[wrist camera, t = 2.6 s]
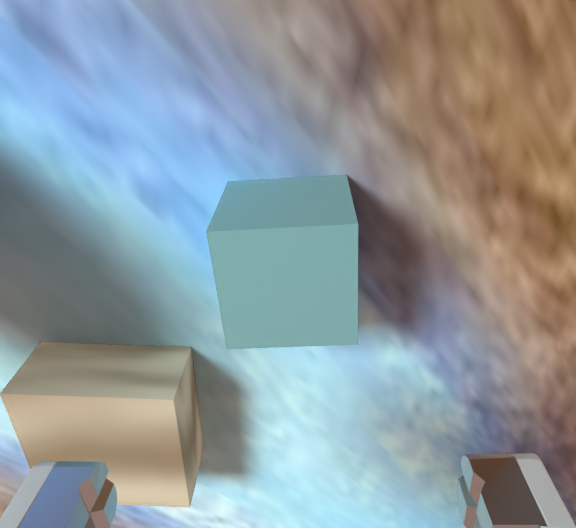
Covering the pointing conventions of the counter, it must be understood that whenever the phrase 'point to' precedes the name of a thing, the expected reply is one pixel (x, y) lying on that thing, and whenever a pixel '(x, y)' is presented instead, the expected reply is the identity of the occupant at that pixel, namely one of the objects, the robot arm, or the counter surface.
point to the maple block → (113, 415)
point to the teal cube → (286, 262)
